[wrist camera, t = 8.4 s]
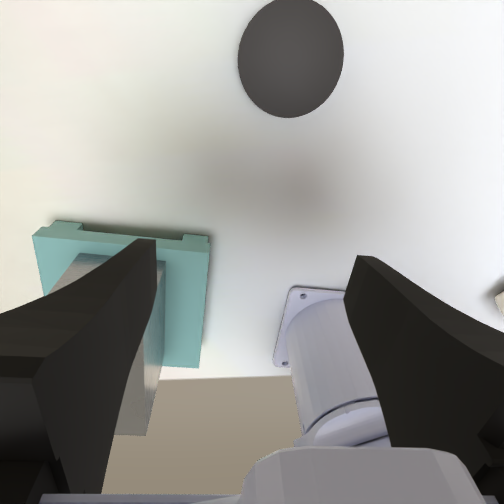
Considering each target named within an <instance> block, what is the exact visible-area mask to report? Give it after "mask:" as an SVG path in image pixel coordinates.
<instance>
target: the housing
mask: <svg viewBox="0 0 504 504" xmlns="http://www.w3.org/2000/svg"><path fill="white" fill-rule="evenodd" d="M111 257H113V256H109V255H98V254H88V253H79V254H78V255H77V256H76V258H75V259H74V260H73V262H72V263H71V264H70V265H69V267H68V268H67V269H66V271H65V272H64V273H63V275H62V276H61V277H60V278H59V280H58V281H57V282H56V284H55V285H54V286H53V288H52V289H51V290H50V292H49V293H48V294H50V293H53V292H55V291H57V290H59V289H61V288H63V287H64V286H66V285H68V284H70V283H72V282H74V281H76V280H77V279H79V278H81V277H82V276H84V275H86V274H87V273H89V272H90V271H92V270H93V269H95V268H97V267H98V266H100V265H101V264H103V263H104V262H106V261H107V260H108V259H110V258H111ZM165 293H166V261H162V260H157V292H156V296H155V301H154V305H153V309H152V313H151V316H150V319H149V321H148V324H147V327H146V329H145V332H144V335H143V337H142V340H141V343H140V345H139V348H138V351H137V353H136V356H135V359H134V361H133V364H132V367H131V370H130V373H129V376H128V380H127V384H126V388H125V392H124V396H123V399H122V403H121V407H120V412H119V416H118V420H117V424H116V428H115V432H114V435H137V436H146V433H147V428H148V424H149V420H150V415H151V411H152V406H153V402H154V398H155V393H156V389H157V385H158V381H159V376H160V372H161V368H162V363H163V359H164V350H165ZM48 294H47V295H48Z"/></svg>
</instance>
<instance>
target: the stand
mask: <svg viewBox="0 0 504 504" xmlns="http://www.w3.org/2000/svg"><path fill="white" fill-rule="evenodd" d="M137 238H142V239H155V240H156V257H157V260H162V261H166V293H165V350H164V359H163V363H162V366H170V367H186V368H199V361H200V351H201V341H202V330H203V319H204V308H205V297H206V286H207V275H208V264H209V253H210V243H208V236H201V235H191V234H184V235H183V239H182V241H181V240H171V239H161V238H151V237H141V236H131V235H121V234H111V233H102V232H92V231H83V224H82V223H75V222H65V221H55V222H54V223H53V224H52V225H51V226H50V227H41V228H40V229H39V230H38V231H37V232H36V233H35V234H33V235H32V239H33V244H34V249H35V253H36V258H37V263H38V268H39V273H40V278H41V283H42V288H43V293H44V296H46V295H47V294H48V293H49V292H50V290H51V289H52V288H53V286H54V285H55V284H56V282H57V281H58V280H59V278H60V277H61V276H62V275H63V273H64V272H65V271H66V269H67V268H68V267H69V265H70V264H71V263H72V262H73V260H74V259H75V258H76V256H77V255H78V254H79V253H88V254H98V255H109V256H114V255H115V254H117V253H118V252H120V251H121V250H122V249H124V248H125V247H126V246H128V245H129V244H130V243H132V242H133V241H134V240H136V239H137Z"/></svg>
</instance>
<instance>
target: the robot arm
mask: <svg viewBox="0 0 504 504" xmlns="http://www.w3.org/2000/svg"><path fill="white" fill-rule="evenodd" d="M156 292H157V257H156V240H155V239H142V238H137V239H136V240H134V241H133V242H132V243H130V244H129V245H128V246H126V247H125V248H124V249H122V250H121V251H120V252H118V253H117V254H115V255H114V256H113V257H111V258H110V259H108V260H107V261H106V262H104V263H103V264H101V265H100V266H98V267H97V268H95V269H93V270H92V271H90V272H89V273H87V274H86V275H84V276H82V277H81V278H79V279H77V280H76V281H74V282H72V283H70V284H68V285H66V286H64V287H63V288H61V289H59V290H57V291H55V292H53V293H50V294H48V295H46V296H44V297H41V298H39V299H37V300H34V301H32V302H29V303H27V304H25V305H22V306H20V307H17V308H15V309H12V310H9V311H6V312H4V313H1V314H0V504H504V333H503V332H501V331H499V330H496V329H494V328H492V327H490V326H488V325H486V324H483V323H481V322H479V321H477V320H475V319H473V318H472V317H470V316H468V315H466V314H464V313H462V312H460V311H458V310H456V309H455V308H453V307H451V306H449V305H448V304H446V303H444V302H443V301H441V300H440V299H438V298H436V297H435V296H433V295H431V294H430V293H428V292H427V291H425V290H424V289H422V288H421V287H419V286H418V285H416V284H415V283H413V282H412V281H410V280H409V279H407V278H406V277H404V276H403V275H402V274H400V273H399V272H397V271H396V270H394V269H393V268H391V267H390V266H388V265H387V264H385V263H384V262H382V261H381V260H379V259H377V258H375V257H373V256H361V255H357V257H356V260H355V264H354V267H353V270H352V273H351V276H350V279H349V282H348V285H347V289H346V292H343V291H332V290H321V289H309V288H298V287H296V288H292V289H291V290H290V292H289V295H288V299H287V303H286V307H285V311H284V316H283V320H282V324H281V328H280V332H279V336H278V340H277V344H276V348H275V353H274V357H273V364H274V365H275V366H277V367H289V368H290V370H291V375H292V380H293V387H294V392H295V398H296V404H297V409H298V415H299V421H300V426H301V431H302V437H300V438H298V439H296V440H294V448H287V449H280V450H278V451H276V452H274V453H272V454H269V455H267V456H265V457H263V458H261V459H259V460H258V461H257V462H256V463H255V464H254V466H253V467H252V468H251V470H250V471H249V473H248V474H247V475H246V477H245V478H244V481H243V487H242V491H241V495H222V494H220V495H219V494H213V495H212V494H205V495H204V494H101V492H102V487H103V482H104V477H105V472H106V468H107V463H108V458H109V454H110V450H111V446H112V441H113V437H114V432H115V428H116V424H117V420H118V416H119V412H120V407H121V403H122V399H123V396H124V392H125V388H126V384H127V380H128V376H129V373H130V370H131V367H132V364H133V361H134V359H135V356H136V353H137V351H138V348H139V345H140V343H141V340H142V337H143V335H144V332H145V329H146V327H147V324H148V321H149V319H150V316H151V313H152V309H153V305H154V301H155V296H156ZM301 294H305V295H304V296H300V295H301ZM284 361H286V362H284Z"/></svg>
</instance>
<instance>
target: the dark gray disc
mask: <svg viewBox="0 0 504 504" xmlns="http://www.w3.org/2000/svg"><path fill="white" fill-rule="evenodd" d="M343 57H344V50H343V41H342V37H341V33H340V30H339V28H338V26H337V23H336V22H335V20H334V18H333V17H332V16H331V14H330V13H329V12H328V11H327V10H326V9H325V8H324V7H323V6H321V5H320V4H318V3H317V2H315V1H313V0H275V1H273V2H271V3H269V4H267V5H266V6H265V7H263V8H262V9H261V10H260V11H259V12H258V13H257V14H256V15H255V16H254V17H253V18H252V20H251V21H250V22H249V24H248V26H247V28H246V29H245V31H244V33H243V36H242V38H241V42H240V45H239V51H238V69H239V74H240V78H241V81H242V84H243V87H244V89H245V91H246V93H247V94H248V96H249V97H250V99H251V100H252V101H253V102H254V103H255V104H256V105H257V106H258V107H259V108H260V109H262V110H263V111H265V112H267V113H269V114H271V115H274V116H277V117H283V118H293V117H299V116H302V115H305V114H308V113H310V112H311V111H313V110H315V109H316V108H318V107H319V106H320V105H321V104H322V103H324V102H325V100H326V99H327V98H328V97H329V96H330V94H331V93H332V92H333V90H334V88H335V86H336V85H337V82H338V80H339V78H340V74H341V71H342V66H343Z"/></svg>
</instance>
